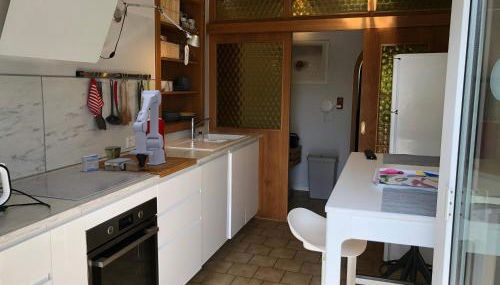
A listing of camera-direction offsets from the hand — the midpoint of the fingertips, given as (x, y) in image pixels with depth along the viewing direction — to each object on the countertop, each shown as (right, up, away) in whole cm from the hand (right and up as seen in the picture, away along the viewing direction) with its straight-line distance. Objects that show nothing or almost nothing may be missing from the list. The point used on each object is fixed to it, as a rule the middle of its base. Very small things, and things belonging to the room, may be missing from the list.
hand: (142, 167), depth 239 cm
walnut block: (-5, -2, +2) cm, 6 cm away
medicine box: (-30, -2, +4) cm, 31 cm away
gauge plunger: (-13, -1, +5) cm, 14 cm away
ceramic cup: (-24, +1, +24) cm, 34 cm away
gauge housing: (-15, -1, +7) cm, 17 cm away
